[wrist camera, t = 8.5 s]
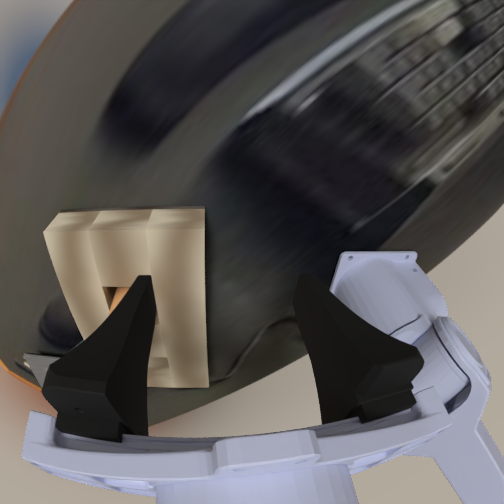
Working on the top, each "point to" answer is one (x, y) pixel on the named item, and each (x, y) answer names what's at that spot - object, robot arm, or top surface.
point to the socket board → (132, 265)
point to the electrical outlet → (40, 364)
